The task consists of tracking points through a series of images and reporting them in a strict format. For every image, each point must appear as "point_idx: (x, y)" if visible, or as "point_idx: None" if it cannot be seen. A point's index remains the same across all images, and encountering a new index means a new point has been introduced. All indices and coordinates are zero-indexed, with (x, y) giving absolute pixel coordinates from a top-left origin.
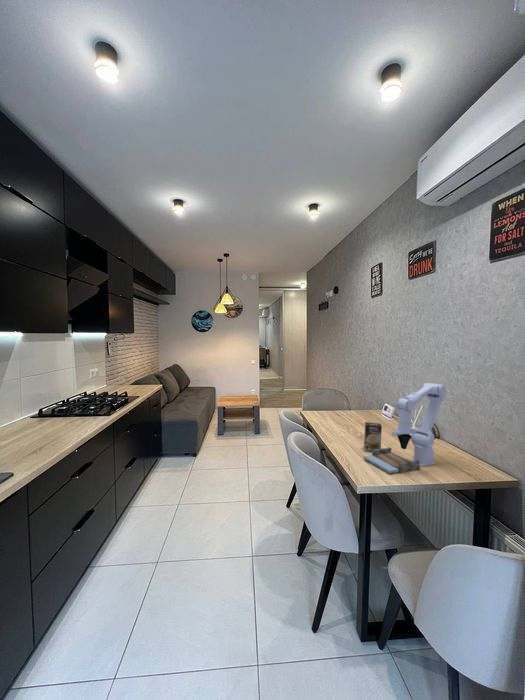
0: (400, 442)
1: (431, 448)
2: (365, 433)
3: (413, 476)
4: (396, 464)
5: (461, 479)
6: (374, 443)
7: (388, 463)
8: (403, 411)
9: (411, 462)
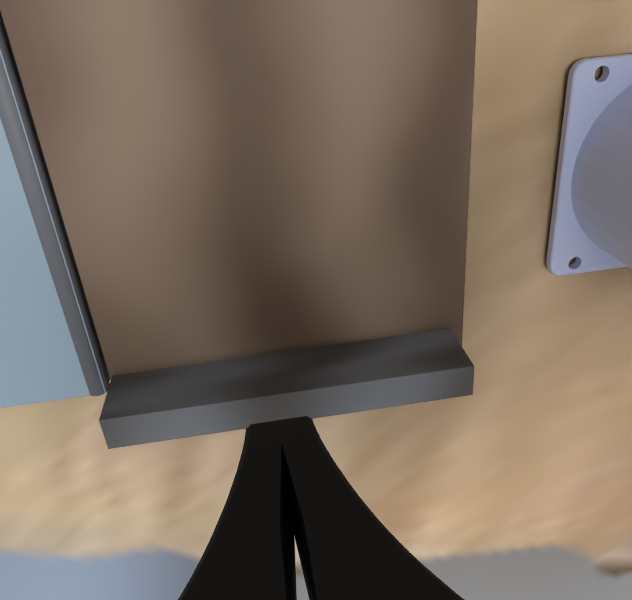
0: (230, 532)
1: None
2: None
3: (233, 446)
4: (163, 265)
5: (616, 531)
6: None
7: (44, 215)
8: None
9: (320, 416)
